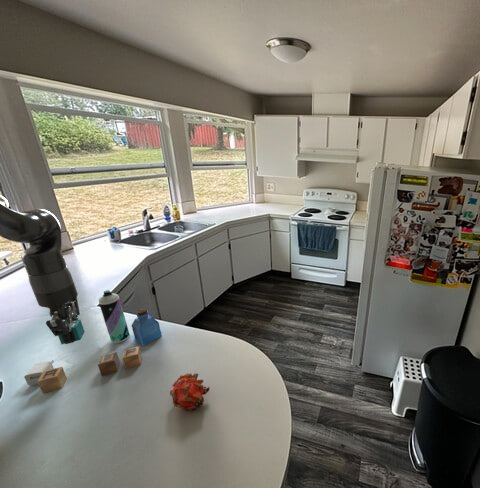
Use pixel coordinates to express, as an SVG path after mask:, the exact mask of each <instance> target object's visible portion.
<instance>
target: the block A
mask: <svg viewBox="0 0 480 488" xmlns="http://www.w3.org/2000/svg"><path fill="white" fill-rule="evenodd" d="M67 378H68V377H67V375H66V372H65V370H64V367H63V366H59V367H55V368H54V369H51V370H47V371H44V372H43V373H42V375H41V377H40V378H39V380H38V384H37V385H38V386H39V388H40V390H41V393H42V394H46V393H49V392H53V391H57V390H59V389H62V388H63V386H64V384H65V382H66V380H67Z"/></svg>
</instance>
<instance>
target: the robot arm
mask: <svg viewBox="0 0 480 488" xmlns="http://www.w3.org/2000/svg"><path fill="white" fill-rule="evenodd" d="M8 201H9V200H7V199H6V198H5V197H4V196H2V195H0V237H1V238H2V239H5V240H7V241H11V242H13V243H20V244H27V248H26V249H25V250H24V251H23V252H22V254H21V261H22V264H23V266H24V268H25V271H26V273H27V274H26V275H27V276H28V283H29V285H30V287H31V289H32V292H33V295H34V297H35V300H36V302H37V305H38V306H39V307H41V308H47V309H49V312H48V313H49V316H50V317H51V318H50V319H49V320H45V321H46V322H45V325H46V326H47V328H48V329H49V330H50V331H51V333H52V334H53V336H54V337H58V335H61V336H62V339H63V341H64V343H65V344H64V345H68V344H72V343H75V342H76V341H75V340H76V339H75V336H74V333H73V331H72V327H71V322H72V321H74V320H79V316H80V315H81V313H80V307H79V301H78V294H79V293H78V290H77V286H76V285H75V281H74V279H73V276H72V272H71V271H70V269H69V268H68V266H67V263H66V259H65V256H64V254H63V252H62V245H63V243H62V240H63V239H62V228H61V224H60V222H59V220H58V219H57V217H56V216H55V215H54V214H53V213H51V212H50V211H48V210H46V209H41V208H32V209H31V208H30V209H28V210H23V211H20V212H18V211H15V210H13V209H12V208H9V202H8ZM66 325H67V327H66Z"/></svg>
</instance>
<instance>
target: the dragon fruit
mask: <svg viewBox="0 0 480 488" xmlns="http://www.w3.org/2000/svg"><path fill="white" fill-rule="evenodd" d="M199 375H200V374H199V373H194V374H192V373H188V372H187V373H185V374H183V375H180V376H179V377H177V380H175V381H174V382H173V383H172V387H173V388H172V389H171V390H170V391H169V394H170V397H171V399H172V403H173V407H175V408H179V409H181V410H186V411H187V412H195V411H196V408H201V407H202V406H203V405H204V402H205V398H204V396H205V395H206V394H207V393H209V391H210V386H209V385H208V386H207V387H206V386H204V385H203V383H204V379H198V377H199Z"/></svg>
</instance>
